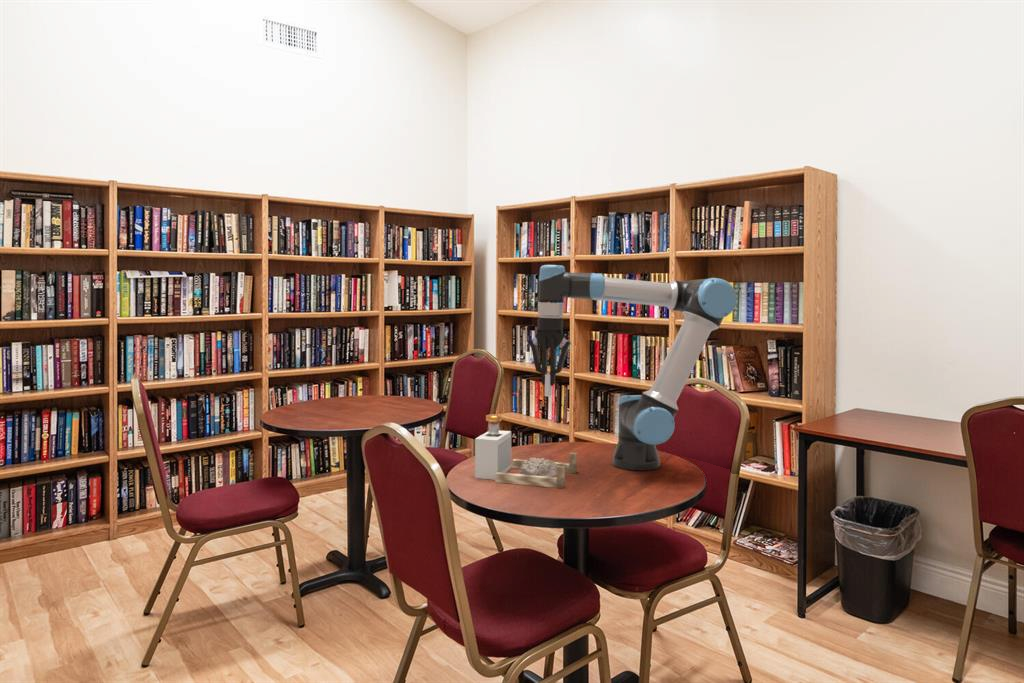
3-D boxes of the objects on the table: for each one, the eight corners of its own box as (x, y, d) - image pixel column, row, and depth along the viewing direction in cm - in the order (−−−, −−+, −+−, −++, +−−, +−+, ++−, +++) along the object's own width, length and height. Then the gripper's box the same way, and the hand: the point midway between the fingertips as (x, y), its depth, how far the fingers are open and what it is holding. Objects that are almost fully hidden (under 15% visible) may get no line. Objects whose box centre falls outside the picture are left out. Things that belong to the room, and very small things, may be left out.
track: (576, 471, 207) (576, 452, 207) (563, 488, 189) (563, 467, 189) (514, 466, 213) (514, 448, 213) (495, 482, 195) (495, 462, 195)
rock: (539, 471, 208) (539, 453, 208) (562, 478, 200) (563, 459, 199) (511, 477, 201) (511, 458, 201) (535, 485, 192) (535, 465, 192)
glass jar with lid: (503, 441, 206) (503, 414, 206) (498, 445, 202) (498, 417, 201) (488, 440, 208) (488, 413, 207) (483, 443, 203) (483, 416, 203)
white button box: (511, 468, 211) (511, 431, 210) (497, 479, 198) (497, 440, 197) (490, 466, 213) (490, 429, 212) (475, 477, 200) (475, 438, 199)
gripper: (574, 317, 199) (571, 395, 200) (532, 316, 202) (529, 392, 204) (569, 318, 191) (566, 399, 193) (526, 316, 195) (523, 396, 196)
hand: (547, 395), depth 198 cm, fingers closed
